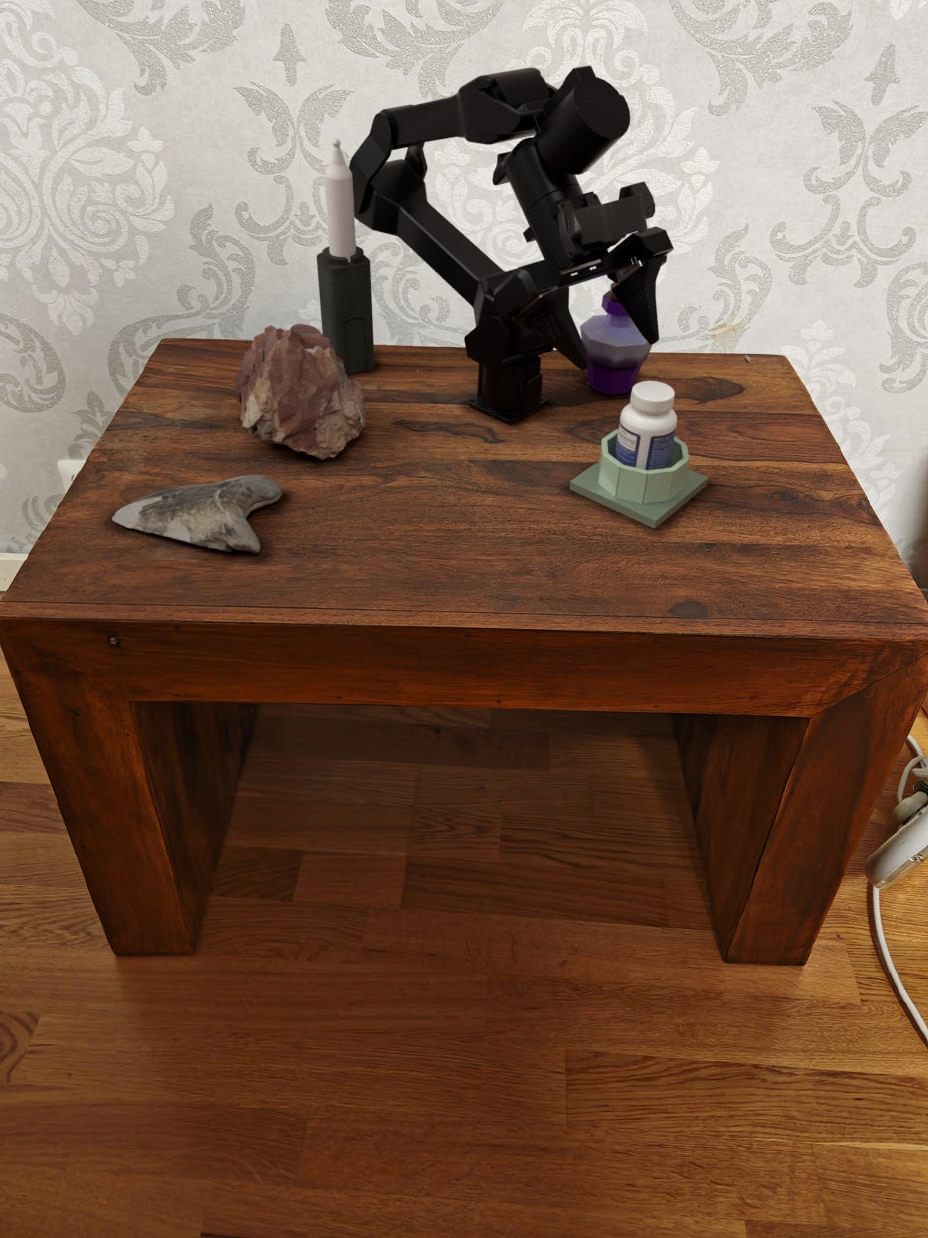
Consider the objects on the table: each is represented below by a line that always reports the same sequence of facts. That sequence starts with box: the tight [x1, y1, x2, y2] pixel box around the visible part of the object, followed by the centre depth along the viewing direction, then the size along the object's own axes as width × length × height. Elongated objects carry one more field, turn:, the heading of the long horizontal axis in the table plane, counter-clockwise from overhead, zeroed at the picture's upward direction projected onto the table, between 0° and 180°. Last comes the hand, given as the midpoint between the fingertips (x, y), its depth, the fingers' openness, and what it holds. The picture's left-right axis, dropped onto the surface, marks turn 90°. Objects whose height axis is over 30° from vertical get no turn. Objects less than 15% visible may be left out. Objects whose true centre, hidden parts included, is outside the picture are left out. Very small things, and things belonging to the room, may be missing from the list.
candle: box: [316, 137, 376, 376], centre depth 107 cm, size 5×5×25 cm
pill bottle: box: [615, 380, 678, 470], centre depth 93 cm, size 5×5×10 cm
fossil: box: [111, 474, 283, 554], centre depth 90 cm, size 11×5×15 cm
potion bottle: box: [579, 281, 654, 398], centre depth 109 cm, size 9×9×12 cm
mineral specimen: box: [235, 323, 367, 461], centre depth 100 cm, size 12×13×15 cm
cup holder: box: [568, 428, 709, 530], centre depth 96 cm, size 10×10×4 cm
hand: (621, 355), depth 92 cm, fingers open, 9 cm apart
